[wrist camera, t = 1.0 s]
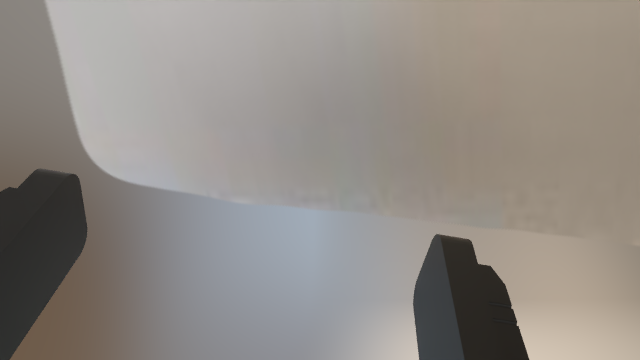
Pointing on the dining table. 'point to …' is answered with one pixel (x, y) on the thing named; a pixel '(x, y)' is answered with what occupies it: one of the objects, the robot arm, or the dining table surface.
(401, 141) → the dining table surface
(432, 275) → the robot arm
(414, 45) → the dining table surface
